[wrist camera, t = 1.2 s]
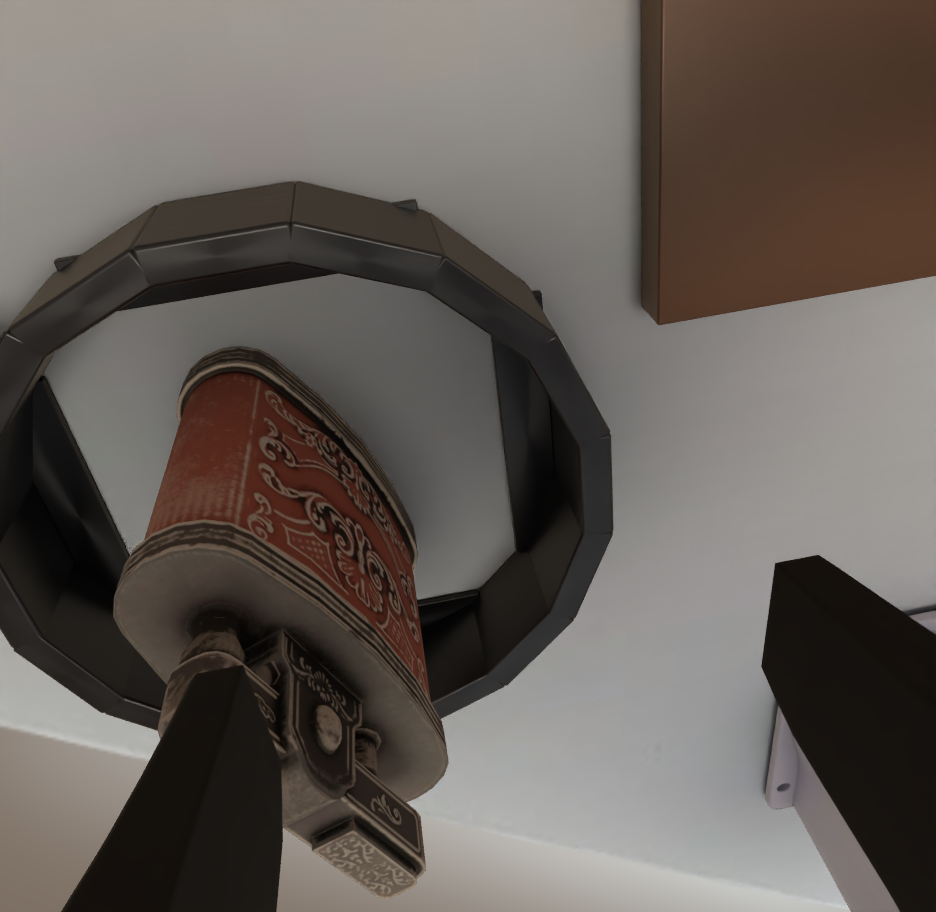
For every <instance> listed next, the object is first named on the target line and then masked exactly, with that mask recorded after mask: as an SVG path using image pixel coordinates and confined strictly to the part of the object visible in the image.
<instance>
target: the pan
mask: <svg viewBox="0 0 936 912" xmlns="http://www.w3.org/2000/svg"><path fill="white" fill-rule="evenodd" d="M54 264H55V266H56V268H57V271H56V272H55V273H53V274H52V276H51V277H50V278H48V280H47V281H46V282H45V283H44V284H43V286H42V287H41V288H40V289H39V290H38V292H37V293H36V294H35V295H34V297H33V298H32V299H31V300H30V301H29V303H28V304H27V305H26V306H25V307H24V309H23V310H22V311H21V312H20V314H19V315H18V316H17V317H16V318H15V320H14V321H13V322H12V323H11V324H10V326H9V327H8V328H7V329H6V331H5V332H4V333H3V335H2V337H1V339H0V629H1V631H2V633H3V634H4V636H5V637H6V639H7V641H8V642H9V644H10V645H11V647H13V648H14V651H15V652H16V653H18V654H19V655H21V656H22V657H23V658H25V659H26V660H28V661H29V662H30V663H32V664H33V665H35V666H36V667H37V668H39V669H40V670H42V671H43V672H45V673H46V674H47V675H49V676H50V677H52V678H53V679H54V680H56V681H57V682H59V683H60V684H61V685H63V686H64V687H66V688H67V689H68V690H70V691H71V692H73V693H74V694H76V695H77V696H78V697H80V698H81V699H83V700H84V701H85V702H87V703H88V704H90V705H91V706H92V707H94V708H95V709H97V710H98V711H99V712H101V713H104V712H105V713H106V714H107V715H110V716H114V717H117V718H120V719H123V720H126V721H129V722H132V723H135V724H138V725H142V726H145V727H148V728H151V729H154V730H157V731H158V725H159V720H160V716H161V711H162V706H163V702H164V697H165V693H166V688H167V684H166V683H165V682H164V681H163V680H162V679H161V677H160V676H159V675H158V674H157V673H156V672H155V671H154V669H153V668H152V667H151V666H150V665H149V664H148V663H147V661H146V660H145V659H144V658H143V657H142V656H141V655H140V653H139V652H138V651H137V650H136V649H135V648H134V647H133V645H132V644H131V643H130V642H129V641H128V640H127V639H126V637H125V636H124V635H123V634H122V632H121V631H120V629H119V627H118V625H117V623H116V621H115V619H114V617H113V612H114V596H115V593H116V590H117V587H118V583H119V580H120V577H121V574H122V571H123V568H124V566H125V564H126V562H127V560H128V559H129V555H128V553H127V551H126V549H125V546H124V544H123V542H122V540H121V538H120V536H119V534H118V532H117V530H116V527H115V525H114V523H113V521H112V519H111V517H110V515H109V513H108V510H107V508H106V506H105V504H104V502H103V500H102V498H101V496H100V493H99V491H98V489H97V487H96V485H95V483H94V481H93V479H92V477H91V474H90V472H89V470H88V468H87V466H86V464H85V462H84V460H83V457H82V455H81V453H80V451H79V449H78V447H77V445H76V443H75V441H74V438H73V436H72V434H71V432H70V430H69V428H68V426H67V424H66V421H65V419H64V417H63V415H62V413H61V411H60V409H59V407H58V404H57V402H56V400H55V398H54V396H53V394H52V392H51V390H50V388H49V385H48V383H47V381H46V379H45V377H43V378H41V376H42V374H43V372H44V371H45V369H46V367H47V365H48V364H49V362H50V360H51V358H52V356H53V355H54V353H55V351H56V350H58V349H59V348H61V347H62V346H64V345H65V344H67V343H69V342H70V341H72V340H73V339H75V338H76V337H78V336H79V335H81V334H82V333H84V332H86V331H87V330H89V329H90V328H92V327H93V326H95V325H96V324H98V323H99V322H101V321H102V320H104V319H106V318H107V317H109V316H110V315H112V314H113V313H115V312H116V311H122V310H128V309H134V308H139V307H145V306H151V305H157V304H163V303H169V302H174V301H180V300H186V299H192V298H198V297H204V296H209V295H215V294H221V293H227V292H233V291H239V290H244V289H250V288H256V287H262V286H268V285H274V284H279V283H285V282H291V281H297V280H303V279H309V278H314V277H320V276H326V275H332V274H338V273H340V274H344V275H349V276H354V277H359V278H364V279H368V280H373V281H378V282H383V283H388V284H392V285H397V286H402V287H407V288H412V289H417V290H421V291H426V292H428V293H429V294H431V295H432V296H434V297H435V298H437V299H438V300H440V301H441V302H443V303H444V304H446V305H447V306H448V307H450V308H451V309H453V310H454V311H456V312H457V313H459V314H460V315H462V316H463V317H465V318H466V319H468V320H469V321H471V322H472V323H474V324H475V325H477V326H478V327H480V328H481V329H482V330H484V331H485V332H487V333H488V334H490V335H491V340H492V349H493V358H494V366H495V375H496V383H497V392H498V401H499V409H500V418H501V426H502V435H503V444H504V452H505V461H506V469H507V478H508V487H509V495H510V504H511V513H512V521H513V530H514V538H515V547H516V552H515V554H514V555H513V556H512V557H511V558H510V559H509V560H508V561H507V562H506V563H505V564H504V565H503V566H502V567H501V568H500V569H499V571H498V572H497V573H496V574H495V575H494V576H493V577H492V578H491V579H490V580H489V581H488V582H487V583H486V584H485V585H484V587H483V588H482V589H481V590H480V591H479V592H477V590H473V591H468V592H463V593H458V594H453V595H448V596H443V597H438V598H433V599H427V600H422V601H417V605H418V613H419V620H420V627H421V635H422V642H423V649H424V657H425V664H426V671H427V679H428V686H429V693H430V701H431V704H432V705H433V707H434V709H435V711H436V712H437V714H438V716H439V717H440V719H442V718H444V717H446V716H448V715H449V714H451V713H453V712H455V711H457V710H459V709H461V708H463V707H465V706H467V705H469V704H471V703H473V702H475V701H477V700H479V699H481V698H483V697H485V696H487V695H489V694H491V693H493V692H495V691H497V690H499V689H501V688H503V687H504V685H508V684H509V683H510V682H511V681H512V680H513V679H514V678H515V677H516V676H517V675H518V674H519V673H520V672H521V671H522V670H523V669H524V668H525V667H526V666H527V665H528V664H529V663H531V662H532V661H533V660H534V659H535V658H536V657H537V656H538V655H539V654H540V653H541V652H542V651H543V650H544V649H545V648H546V647H547V646H548V645H549V644H550V643H551V642H552V641H553V640H554V639H555V638H556V637H557V636H558V635H559V634H560V633H561V632H562V631H563V630H564V629H565V628H566V627H567V626H568V625H569V624H570V623H571V622H572V621H573V620H574V618H575V617H576V615H577V613H578V611H579V608H580V606H581V604H582V602H583V600H584V597H585V595H586V593H587V591H588V588H589V586H590V584H591V582H592V580H593V577H594V575H595V573H596V571H597V568H598V566H599V564H600V562H601V560H602V557H603V555H604V553H605V551H606V548H607V546H608V544H609V542H610V539H611V537H612V534H613V494H612V456H611V435H610V430H609V428H608V426H607V424H606V423H605V421H604V419H603V417H602V415H601V414H600V412H599V410H598V408H597V406H596V404H595V403H594V401H593V399H592V397H591V395H590V394H589V392H588V390H587V388H586V386H585V385H584V383H583V381H582V379H581V377H580V376H579V374H578V372H577V370H576V368H575V367H574V365H573V363H572V361H571V359H570V358H569V356H568V354H567V352H566V350H565V349H564V347H563V345H562V343H561V341H560V340H559V338H558V336H557V334H556V333H555V331H554V329H553V327H552V326H551V324H550V322H549V321H548V319H547V317H546V316H545V314H544V312H543V306H542V293H541V292H540V291H534V292H531V290H530V288H529V287H528V286H527V285H526V283H525V282H524V281H522V280H521V279H520V278H518V277H517V276H515V275H514V274H513V273H511V272H510V271H509V270H507V269H506V268H505V267H503V266H502V265H500V264H499V263H498V262H496V261H495V260H494V259H492V258H491V257H490V256H488V255H487V254H485V253H484V252H483V251H481V250H480V249H479V248H477V247H476V246H474V245H473V244H472V243H470V242H469V241H468V240H466V239H465V238H464V237H462V236H461V235H459V234H458V233H457V232H455V231H454V230H453V229H451V228H450V227H448V226H447V225H446V224H444V223H443V222H442V221H440V220H439V219H438V218H436V217H435V216H433V215H432V214H430V213H427V212H426V211H422V210H418V208H417V202H416V200H415V199H414V200H408V201H402V202H396V203H388V202H384V201H380V200H375V199H371V198H367V197H363V196H358V195H354V194H350V193H346V192H341V191H337V190H333V189H329V188H324V187H320V186H316V185H312V184H307V183H303V182H296V184H295V183H294V182H288V183H281V184H275V185H269V186H263V187H257V188H251V189H245V190H239V191H233V192H227V193H221V194H214V195H208V196H202V197H196V198H190V199H184V200H178V201H172V202H166V203H162V204H160V205H159V206H154V207H152V208H151V209H149V210H148V211H146V212H145V213H143V214H142V215H140V216H139V217H137V218H136V219H134V220H133V221H131V222H130V223H128V224H127V225H125V226H124V227H122V228H121V229H119V230H118V231H116V232H115V233H113V234H112V235H110V236H109V237H107V238H106V239H104V240H103V241H101V242H100V243H98V244H97V245H95V246H94V247H92V248H91V249H89V250H88V251H86V252H85V253H83V254H82V255H78V256H72V257H66V258H60V259H56V260H55V261H54Z"/></svg>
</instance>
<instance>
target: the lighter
mask: <svg viewBox="0 0 936 912" xmlns="http://www.w3.org/2000/svg"><path fill="white" fill-rule="evenodd" d="M177 418H178V421H179V428H178V431H177V434H176V437H175V441H174V444H173V447H172V450H171V454H170V457H169V460H168V464H167V467H166V470H165V473H164V477H163V480H162V483H161V487H160V490H159V493H158V496H157V500H156V503H155V506H154V509H153V513H152V516H151V519H150V523H149V526H148V529H147V532H146V536H145V539H144V541H143V542H142V543H140V544H139V545H138V546H137V547H136V548H134V550H133V551H132V553H131V555H130V557H129V559H128V560H127V562H126V564H125V566H124V568H123V571H122V574H121V577H120V580H119V583H118V587H117V590H116V593H115V596H114V612H113V617H114V619H115V621H116V623H117V625H118V627H119V629H120V631H121V632H122V634H123V635H124V636H125V637H126V639H127V640H128V641H129V642H130V643H131V644H132V645H133V647H134V648H135V649H136V650H137V651H138V652H139V653H140V655H141V656H142V657H143V658H144V659H145V660H146V661H147V663H148V664H149V665H150V666H151V667H152V668H153V669H154V671H155V672H156V673H157V674H158V675H159V676H160V677H161V679H162V680H163V681H164V682H165V683H166V684H167V688H166V693H165V697H164V702H163V706H162V711H161V716H160V720H159V725H158V733H159V736H160V738H162V736H163V734H164V732H165V730H166V728H167V726H168V724H169V722H170V720H171V718H172V716H173V714H174V712H175V710H176V708H177V706H178V704H179V702H180V700H181V698H182V696H183V694H184V692H185V690H186V688H187V686H188V684H189V682H190V681H191V679H192V678H193V677H194V676H195V674H197V673H202V672H207V671H212V670H218V669H223V668H228V667H233V666H239V665H243V666H244V668H245V671H246V673H247V676H248V679H249V681H250V684H251V686H252V689H253V691H254V694H255V696H256V699H257V702H258V704H259V707H260V709H261V712H262V714H263V717H264V719H265V722H266V725H267V727H268V730H269V732H270V735H271V737H272V740H273V742H274V745H275V748H276V750H277V753H278V755H279V758H280V760H281V774H282V825H283V828H284V829H286V830H287V831H289V832H290V833H292V834H293V835H294V836H296V837H297V838H299V839H300V840H301V841H303V842H304V843H306V844H307V845H308V846H310V847H311V848H312V851H313V852H315V853H316V854H317V855H319V856H320V857H322V858H323V859H324V860H326V861H327V862H329V863H330V864H332V865H333V866H334V867H336V868H337V869H339V870H340V871H341V872H343V873H344V874H346V875H347V876H348V877H350V878H351V879H353V880H354V881H355V882H357V883H358V884H360V885H361V886H363V887H364V888H365V889H367V890H368V891H370V892H371V893H372V894H374V895H376V896H378V897H380V898H391V897H393V896H396V895H399V894H401V893H403V892H405V891H407V890H409V889H411V888H412V887H414V886H415V885H416V883H417V878H419V877H421V876H422V875H423V874H424V872H425V871H426V865H425V856H424V846H423V837H422V827H421V818H420V815H419V814H418V813H417V812H416V810H415V809H413V808H412V807H411V806H410V805H409V804H408V803H406V802H408V801H411V800H414V799H416V798H418V797H419V796H421V795H422V794H424V793H426V792H427V791H429V790H430V789H432V788H433V787H434V786H435V785H436V784H437V783H438V781H439V780H440V779H441V778H442V777H443V776H444V774H445V771H446V768H447V765H448V763H449V762H448V755H447V748H446V742H445V735H444V730H443V725H442V721H441V719H440V717H439V716H438V714H437V712H436V711H435V709H434V707H433V705H432V704H431V701H430V693H429V686H428V679H427V671H426V664H425V657H424V649H423V642H422V635H421V627H420V620H419V613H418V605H417V598H416V591H415V584H414V576H413V569H414V568H415V565H416V561H417V557H418V553H417V546H416V539H415V534H414V529H413V525H412V523H411V521H410V519H409V517H408V515H407V513H406V511H405V509H404V507H403V505H402V503H401V501H400V499H399V497H398V495H397V493H396V491H395V489H394V487H393V485H392V484H391V482H390V481H389V479H388V478H387V476H386V475H385V473H384V472H383V471H382V469H381V468H380V466H379V465H378V463H377V462H376V460H375V459H374V458H373V456H372V455H371V453H370V452H369V450H368V449H367V447H366V446H365V445H364V443H363V442H362V440H361V439H360V438H359V437H358V436H357V435H356V434H355V433H354V432H353V431H352V430H351V429H350V428H349V427H348V426H347V425H346V423H345V422H344V421H343V420H342V419H341V418H340V417H339V416H338V415H337V414H336V413H335V412H334V411H333V410H332V409H331V408H330V407H329V405H328V404H327V403H326V402H325V401H324V400H323V399H322V398H321V397H320V396H318V395H317V394H316V393H315V392H314V391H313V390H311V389H310V388H309V387H308V386H307V385H305V384H304V383H303V382H302V381H301V380H299V379H298V378H297V377H296V376H295V375H293V374H292V373H291V372H290V371H289V370H287V369H286V368H285V367H284V366H283V365H281V364H280V363H279V362H278V361H277V360H275V359H274V358H273V357H271V356H269V355H267V354H265V353H264V352H262V351H260V350H256V349H250V348H245V347H235V348H227V349H221V350H219V351H216V352H214V353H212V354H209V355H207V356H205V357H204V358H202V359H201V360H200V361H199V362H198V363H197V364H196V365H195V366H193V367H192V368H191V370H190V372H189V374H188V376H187V377H186V379H185V381H184V383H183V386H182V389H181V392H180V395H179V398H178V405H177Z"/></svg>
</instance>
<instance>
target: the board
mask: <svg viewBox="0 0 936 912" xmlns="http://www.w3.org/2000/svg"><path fill="white" fill-rule="evenodd" d="M931 276H936V0H642V307H643V308H644V309H645V310H646V312H647V313H648V314H649V315H650V316H651V317H652V318H653V320H654V321H655V322H656V323H657V324H658V325H663V324H669V323H674V322H680V321H686V320H691V319H697V318H702V317H708V316H713V315H719V314H725V313H730V312H736V311H741V310H747V309H753V308H758V307H764V306H769V305H775V304H780V303H786V302H792V301H797V300H803V299H808V298H814V297H819V296H825V295H831V294H836V293H842V292H847V291H853V290H859V289H864V288H870V287H875V286H881V285H886V284H892V283H898V282H903V281H909V280H914V279H920V278H925V277H931Z"/></svg>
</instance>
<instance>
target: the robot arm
mask: <svg viewBox="0 0 936 912" xmlns="http://www.w3.org/2000/svg"><path fill="white" fill-rule="evenodd" d="M761 667H762V669H763V671H764V674H765V676H766V678H767V680H768V683H769V685H770V687H771V689H772V692H773V694H774V696H775V699H776V701H777V703H778V710H777V717H776V724H775V731H774V738H773V745H772V752H771V759H770V765H769V772H768V779H767V786H766V793H765V800H766V802H767V804H768V806H769V807H770V808H772V809H782V808H787V807H792V806H794V807H795V809H796V811H797V812H798V814H799V816H800V818H801V820H802V822H803V824H804V825H805V827H806V829H807V831H808V833H809V835H810V836H811V838H812V840H813V842H814V844H815V846H816V848H817V849H818V851H819V853H820V855H821V857H822V859H823V861H824V862H825V864H826V866H827V868H828V870H829V872H830V873H831V875H832V877H833V879H834V881H835V883H836V885H837V886H838V888H839V890H840V892H841V894H842V896H843V898H844V899H845V901H846V903H847V905H848V907H849V909H850V910H851V912H936V610H935V611H930V612H925V613H920V614H915V615H910V616H908V615H906V614H905V613H903V612H902V611H900V610H899V609H897V608H896V607H894V606H893V605H892V604H890V603H889V602H887V601H886V600H884V599H883V598H881V597H880V596H878V595H877V594H876V593H874V592H873V591H871V590H870V589H868V588H867V587H865V586H864V585H862V584H861V583H860V582H858V581H857V580H855V579H854V578H852V577H851V576H849V575H848V574H846V573H845V572H843V571H842V570H841V569H839V568H838V567H836V566H835V565H833V564H832V563H830V562H829V561H827V560H826V559H824V558H822V557H821V556H819V555H815V556H810V557H805V558H800V559H794V560H789V561H784V562H779V563H775V569H774V577H773V584H772V592H771V599H770V606H769V614H768V621H767V629H766V636H765V643H764V651H763V658H762V666H761ZM282 830H283V825H282V774H281V760H280V758H279V755H278V753H277V750H276V748H275V745H274V742H273V740H272V737H271V735H270V732H269V730H268V727H267V725H266V722H265V719H264V717H263V714H262V712H261V709H260V707H259V704H258V702H257V699H256V696H255V694H254V691H253V689H252V686H251V684H250V681H249V679H248V676H247V673H246V671H245V668H244V666H243V665H239V666H233V667H228V668H223V669H218V670H212V671H207V672H202V673H197V674H195V676H194V677H193V678H192V679H191V681H190V682H189V684H188V686H187V688H186V690H185V692H184V694H183V696H182V698H181V700H180V702H179V704H178V706H177V708H176V710H175V712H174V714H173V716H172V718H171V720H170V722H169V724H168V726H167V728H166V730H165V732H164V734H163V736H162V738H161V740H160V742H159V744H158V746H157V748H156V749H155V751H154V753H153V755H152V757H151V759H150V761H149V763H148V764H147V766H146V769H145V770H144V772H143V774H142V776H141V778H140V779H139V781H138V783H137V785H136V787H135V788H134V790H133V792H132V794H131V796H130V797H129V799H128V801H127V803H126V804H125V806H124V808H123V810H122V811H121V813H120V815H119V817H118V819H117V820H116V822H115V824H114V826H113V828H112V829H111V831H110V833H109V835H108V836H107V838H106V840H105V841H104V843H103V845H102V846H101V848H100V850H99V852H98V853H97V855H96V856H95V858H94V860H93V861H92V863H91V865H90V866H89V868H88V869H87V871H86V873H85V874H84V876H83V878H82V879H81V881H80V882H79V884H78V885H77V887H76V889H75V890H74V892H73V894H72V895H71V897H70V898H69V900H68V902H67V903H66V905H65V906H64V908H63V910H62V911H61V912H276V909H277V898H278V887H279V875H280V864H281V854H282V842H283V837H282V836H283V832H282Z"/></svg>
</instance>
